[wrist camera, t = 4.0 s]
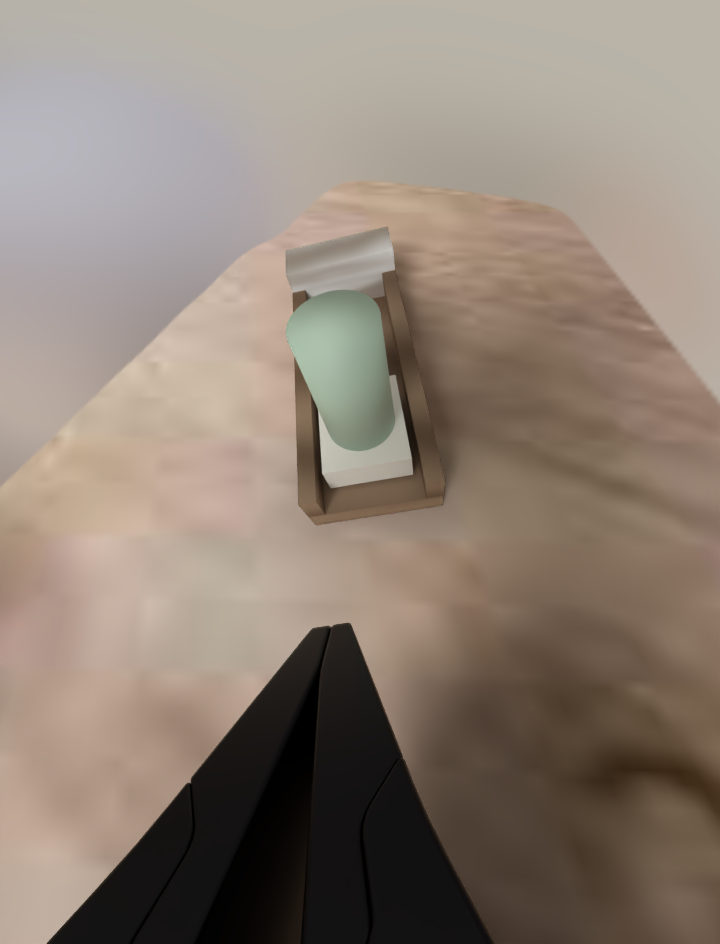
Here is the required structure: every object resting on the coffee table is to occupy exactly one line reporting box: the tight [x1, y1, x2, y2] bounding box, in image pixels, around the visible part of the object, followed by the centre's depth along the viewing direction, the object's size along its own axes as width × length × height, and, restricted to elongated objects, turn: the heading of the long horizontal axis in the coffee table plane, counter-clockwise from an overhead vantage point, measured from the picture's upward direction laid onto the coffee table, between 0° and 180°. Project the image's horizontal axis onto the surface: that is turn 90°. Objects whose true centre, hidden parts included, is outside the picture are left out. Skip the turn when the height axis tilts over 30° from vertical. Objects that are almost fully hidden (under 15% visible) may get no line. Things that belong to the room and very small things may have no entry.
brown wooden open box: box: [286, 227, 445, 525], centre depth 25 cm, size 21×8×5 cm, turn 6°
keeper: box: [286, 290, 413, 488], centre depth 19 cm, size 6×5×9 cm
